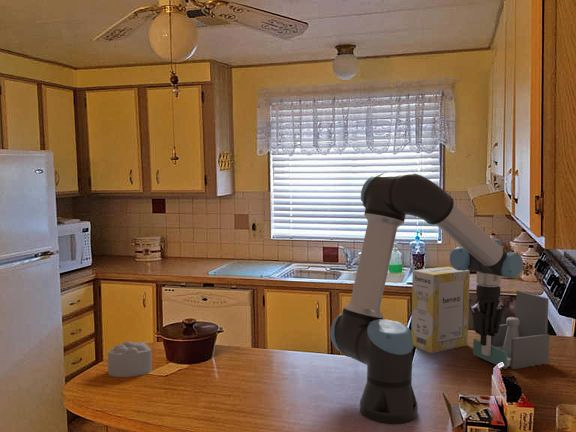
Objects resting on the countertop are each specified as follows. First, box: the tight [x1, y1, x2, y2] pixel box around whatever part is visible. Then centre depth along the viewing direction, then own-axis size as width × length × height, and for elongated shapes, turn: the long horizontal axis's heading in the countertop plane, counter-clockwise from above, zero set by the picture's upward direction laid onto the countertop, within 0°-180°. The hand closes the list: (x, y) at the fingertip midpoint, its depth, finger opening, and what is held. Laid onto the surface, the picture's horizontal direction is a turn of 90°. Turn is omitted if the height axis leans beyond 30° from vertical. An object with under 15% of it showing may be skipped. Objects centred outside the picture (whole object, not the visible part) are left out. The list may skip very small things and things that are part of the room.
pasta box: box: [410, 266, 471, 354], centre depth 205 cm, size 18×10×28 cm, turn 120°
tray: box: [472, 338, 511, 370], centre depth 189 cm, size 16×15×6 cm
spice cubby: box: [492, 290, 550, 370], centre depth 189 cm, size 15×15×22 cm
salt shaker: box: [503, 316, 520, 357], centre depth 189 cm, size 6×6×13 cm
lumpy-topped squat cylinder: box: [107, 340, 153, 378], centre depth 177 cm, size 10×13×9 cm
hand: (486, 354), depth 186 cm, fingers closed
